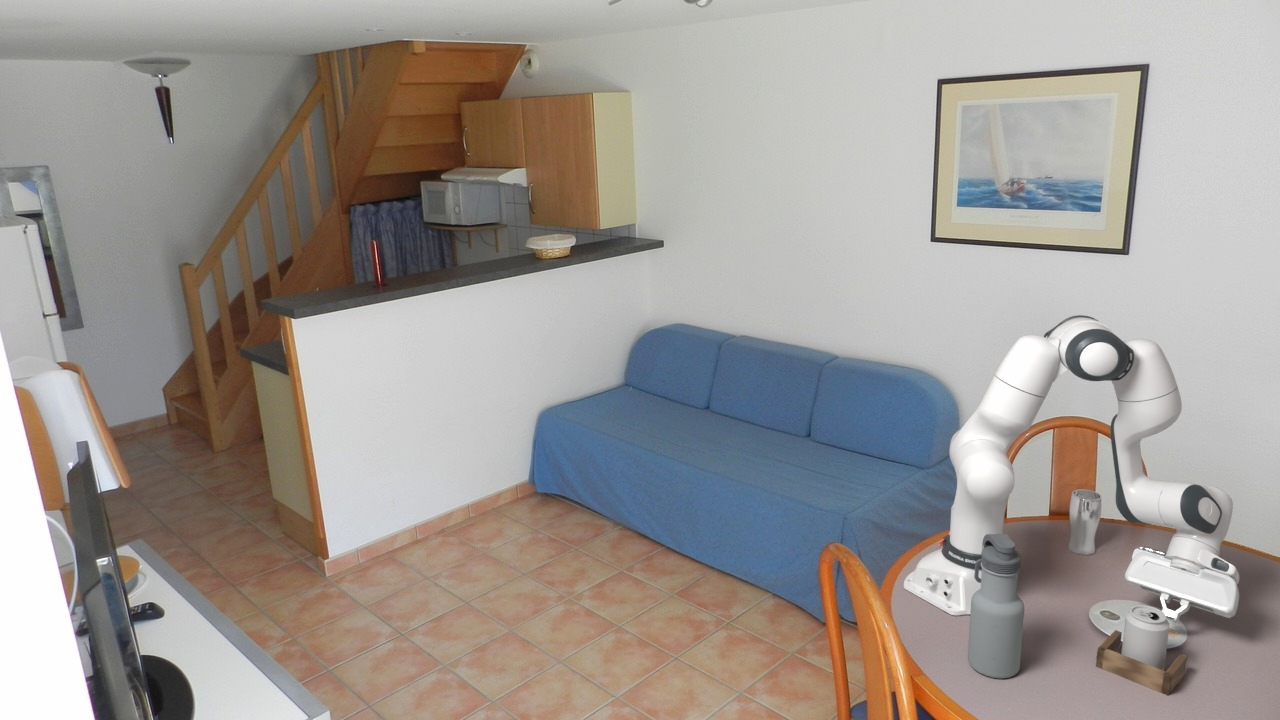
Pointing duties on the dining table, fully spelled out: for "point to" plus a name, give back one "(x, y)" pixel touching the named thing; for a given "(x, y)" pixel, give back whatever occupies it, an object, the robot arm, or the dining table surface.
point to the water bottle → (996, 610)
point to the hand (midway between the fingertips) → (1168, 619)
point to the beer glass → (1084, 520)
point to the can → (1146, 635)
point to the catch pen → (1139, 667)
